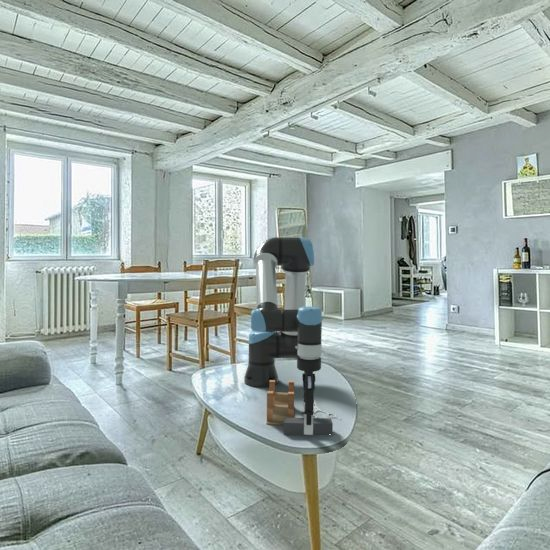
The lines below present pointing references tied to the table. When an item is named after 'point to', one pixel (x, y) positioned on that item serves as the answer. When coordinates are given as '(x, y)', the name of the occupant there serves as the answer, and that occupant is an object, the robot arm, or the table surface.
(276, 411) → the wooden ladder frame
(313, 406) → the white flat branched piece
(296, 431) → the bar
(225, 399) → the table surface
